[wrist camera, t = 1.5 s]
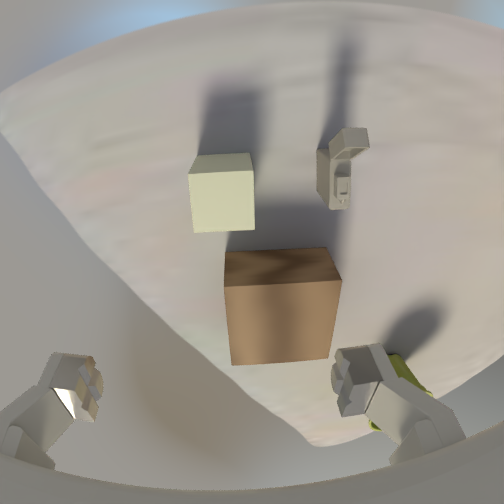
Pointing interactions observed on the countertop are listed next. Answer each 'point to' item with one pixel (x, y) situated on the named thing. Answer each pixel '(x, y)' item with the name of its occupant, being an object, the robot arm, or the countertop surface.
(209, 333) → the countertop surface
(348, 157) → the lighter
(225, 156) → the sage block
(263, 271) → the walnut block
